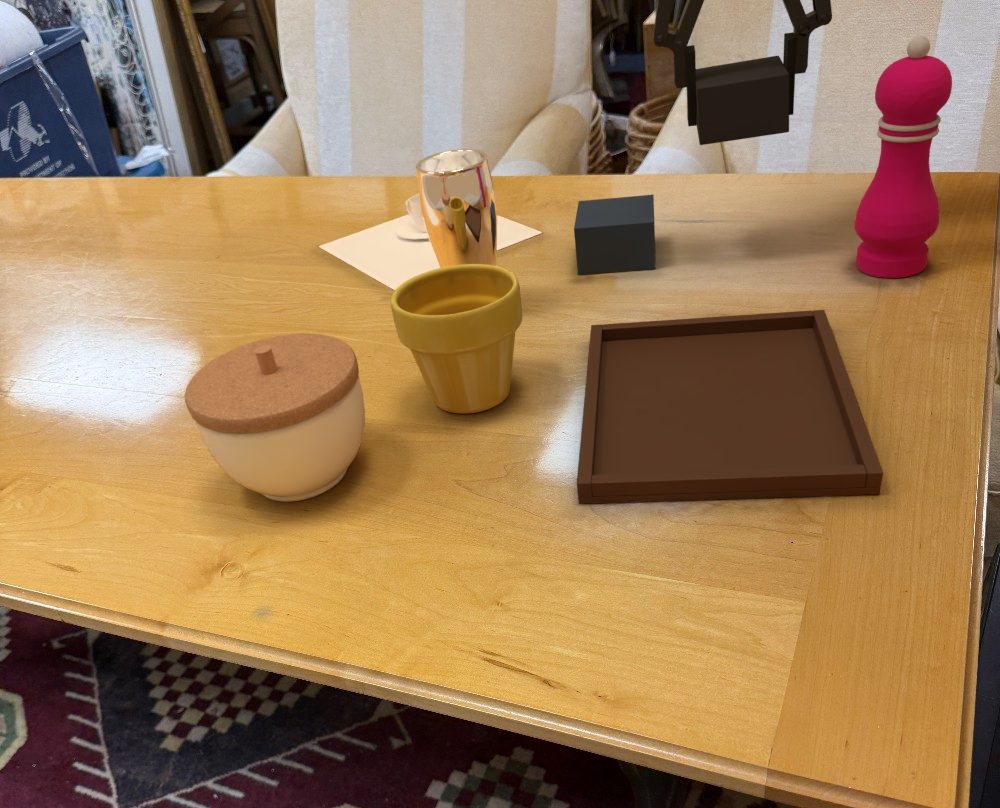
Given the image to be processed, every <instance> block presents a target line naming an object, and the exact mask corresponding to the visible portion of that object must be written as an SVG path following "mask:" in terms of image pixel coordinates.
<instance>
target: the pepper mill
mask: <svg viewBox="0 0 1000 808" xmlns="http://www.w3.org/2000/svg"><path fill="white" fill-rule="evenodd" d="M906 46H907V47H906V53H907V56H904V57H902V58H900V59H897V60H895V61H894V62H892V63H891V64H889V65H888V66H887V67H886V68H885V69H884V70H883V72H882V73H881V75H880V76H879V78H878V80H877V83H876V86H875V91H874V100H875V104H876V107H877V108H878V110H879V111H880V112H881V115H882V116H881V117H880V118H879V119H878V121H877V124H878V129H877V131H876V135H877V137H878V138H879V139H880V154H879V160H878V164H877V168H876V170H875V173H874V176H873V178H872V180H871V182H870V184H869V186H868V188H867V189H866V191H865V192H864V194H863V196H862V198H861V199H860V201H859V204H858V207H857V210H856V213H855V217H854V218H855V219H854V230H855V232H856V234H857V236H858V237H859V239H860V240H861V241H862V242H860V244H858V245H857V248H856V259H855V267H856V268H857V269H858V271H859V272H861V273H863V274H865V275H868V276H870V277H875V278H881V279H900V278H902V279H903V278H908V277H912V276H915V275H917V274H919V273H921V272H922V271H923V270H924V269H925V268H926V267H927V263H928V256H929V251H930V250H929V246H928V244H926V243H925V242H926V241H928V240H929V239H930V238H931V237H932V236H933V235H934V234H935V232H936V231H937V230H938V226H939V223H940V222H939V221H940V206H939V199H938V195H937V192H936V190H935V186H934V183H933V181H932V180H933V179H932V177H931V170H930V169H931V167H930V155H931V146H932V143H933V138H935V137H936V136H937V135H938V134H939V133H940V127H939V124H940V123H941V121H942V118H941V115H939V114H938V113H939V112H940V111H941V109H942V108H944V106H946V104H947V103H948V101H949V100H950V98H951V94H952V90H953V76H952V73H951V70H950V68H949V67H948V65H947V64H946V63H945V62H944V61H943V60H941V59H940V58H938V57H935V56H931V55H928V54H929V52H930V49H931V42H930V40H929V38H928V37H926V36H923V35H918V36H915V37H913V38H912V39H911V40H910V41H909V42H908V44H907V45H906Z"/></svg>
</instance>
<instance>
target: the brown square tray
mask: <svg viewBox="0 0 1000 808" xmlns="http://www.w3.org/2000/svg"><path fill="white" fill-rule="evenodd" d="M827 316H828V315H827V313H826V311H825V309H815V310H813V309H812V310H797V311H796V310H795V311H784V312H780V311H779V312H767V313H765V312H764V313H754V314H753V313H751V314H739V315H724V316H723V315H722V316H708V317H696V318H695V317H694V318H693V317H692V318H677V319H676V318H675V319H662V320H661V319H660V320H646V321H631V322H617V323H615V322H614V323H603V324H602V323H601V324H591V325H590V334H589V344H588V354H587V355H588V356H587V357H588V358H587V366H586V367H587V368H586V379H585V389H584V400H583V401H584V402H583V410H582V422H581V433H580V443H579V444H580V445H579V454H578V455H579V456H578V466H577V475H576V477H577V478H576V491H577V499H578V504H579V505H584V504H613V503H614V504H615V503H644V502H645V503H647V502H649V503H650V502H674V501H676V502H677V501H707V500H738V499H739V500H742V499H768V498H772V499H773V498H774V499H775V498H803V497H833V496H835V497H836V496H862V495H863V496H864V495H865V496H866V495H880V494H881V490H882V487H881V486H882V482H883V476H884V472H883V469H882V466H881V464H880V461H879V458H878V455H877V452H876V449H875V447H874V444H873V441H872V438H871V435H870V433H869V429H868V428H867V427H868V426H867V425H866V421H865V419H864V417H863V416H864V415H863V413H862V410H861V409H860V405H859V402H858V399H857V396H856V394H855V391H854V388H853V385H852V383H851V380H850V377H849V374H848V372H847V368H846V366H845V363H844V361H843V357H842V355H841V352H840V350H839V347H838V344H837V341H836V338H835V335H834V333H833V330H832V327H831V325H830V322H829V319H828V317H827Z"/></svg>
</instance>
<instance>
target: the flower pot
mask: <svg viewBox="0 0 1000 808" xmlns="http://www.w3.org/2000/svg"><path fill="white" fill-rule="evenodd" d="M389 303H390V309H391V314H392V317H393V323H394V327H395V330H396V335H397V336H398V337H397V338H398V340H399V341H400V343H401V344H402V345H403V346H404V347H405V348H408V349H409V350H410V352H411V354H412V356H413V358H414V360H415V363H416V365H417V367H418V370H419V372H420V374H421V375H422V378H423V380H424V382H425V385H426V387H427V389H428V391H429V393H430V395H431V398H432V400H433V402H434V403H435V405H436V406H437V407H438V408H439V409H441V410H443V411H445V412H448V413H453V414H462V415H463V414H466V415H467V414H477V413H480V412H484V411H488V410H490V409H493V408H494V407H496V406H499V405H500V404H501V403H503V402H504V401H506V399H507V398H508V396H509V394H510V392H511V384H512V374H513V361H514V350H515V339H516V332H517V330H518V329H519V327H520V326H521V324H522V321H523V305H522V293H521V287H520V282H519V279H518V277H517V275H516V274H514V272H512V271H511V270H509V269H507V268H505V267H502V266H499V265H496V266H494V265H487V264H462V265H454V266H447V267H443V268H438V269H435V270H431V271H428V272H425V273H422V274H420V275H417V276H415V277H413V278H411V279H409V280H407V281H406V282H404V283H403V284H401V285H400V286H399V287H398V288H397V289H396V290H393V292H392V294H391V295H390V301H389Z"/></svg>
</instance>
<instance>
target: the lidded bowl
mask: <svg viewBox="0 0 1000 808" xmlns="http://www.w3.org/2000/svg"><path fill="white" fill-rule="evenodd" d="M359 373H360V370H359V362H358V359H357V356H356V353H355V351H354V349H353V348H352V347H351V346H350V345H349V344H348V343H347V342H344V341H343V340H342V339H339V338H337V337H334V336H330V335H327V334H319V333H291V334H282V335H275V336H271V337H267V338H263V339H258V340H254V341H252V342H249V343H246V344H243V345H240V346H238V347H236V348H233V349H230V350H229V351H227V352H224V353H223V354H220V355H219V356H217V357H215V358H214V359H212V360H210V361H209V362H208V363H206V364H205V365H204V366H203V367H201V368H200V369H199V370H198V371H197V372H196V373H195V374H194V375H193V376H192V377H191V379H190V380H189V381H188V383H187V386H186V388H185V391H184V402H185V405H186V408H187V411H188V413H189V414H190V416H191V418H192V420H194V422H195V423H194V424H196V425H195V426H196V428H197V431H198V432H199V434H200V437H201V439H202V442H203V444H204V445H205V447H206V448H207V450H208V452H209V454H210V455H211V457H212V458H213V461H215V462H216V464H217V466H218V467H219V468H220V469H221V470H222V471H223V472H224V473H225V474H226V475H227V476H228V477H229V478H231V479H232V480H233V481H234V482H235V483H237V484H238V485H240V486H242V487H244V488H246V489H248V490H250V491H253V492H255V493H258V494H261V495H262V496H263V497H265V498H267V499H269V500H272V501H276V502H298V501H299V502H300V501H303V500H308V499H311V498H314V497H316V496H319V495H322V494H324V493H325V492H327V491H329V490H331V489H332V488H334V487H335V486H336V485H338V484H339V483H340V482H341V481H342V479H343V478H344V477H345V475H346V473H347V471H348V467H349V466H350V465H351V464H352V462H353V461H354V459H355V458H356V456H357V454H358V452H359V450H360V449H361V445H362V442H363V438H364V433H365V427H366V409H365V408H366V407H365V400H364V392H363V388H362V387H363V386H362V382H361V378H360V374H359Z"/></svg>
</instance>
